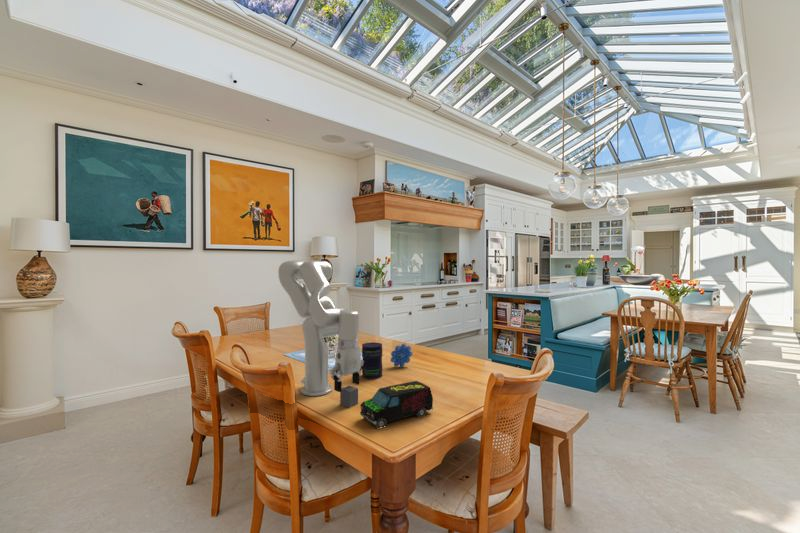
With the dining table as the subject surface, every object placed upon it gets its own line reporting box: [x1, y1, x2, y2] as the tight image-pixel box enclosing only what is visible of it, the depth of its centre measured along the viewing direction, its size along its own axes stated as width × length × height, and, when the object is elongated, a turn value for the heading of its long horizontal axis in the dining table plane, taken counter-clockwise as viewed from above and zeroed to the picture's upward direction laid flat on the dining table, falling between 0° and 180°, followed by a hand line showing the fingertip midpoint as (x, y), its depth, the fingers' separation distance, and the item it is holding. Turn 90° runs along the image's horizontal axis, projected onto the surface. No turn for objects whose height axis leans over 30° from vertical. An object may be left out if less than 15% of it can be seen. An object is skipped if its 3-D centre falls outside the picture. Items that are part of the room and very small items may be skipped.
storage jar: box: [361, 341, 384, 380], centre depth 170 cm, size 10×10×15 cm
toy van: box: [359, 380, 434, 429], centre depth 125 cm, size 11×25×10 cm, turn 122°
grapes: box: [390, 343, 413, 367], centre depth 186 cm, size 12×7×12 cm, turn 100°
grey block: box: [339, 385, 359, 408], centre depth 135 cm, size 5×4×6 cm
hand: (347, 387), depth 136 cm, fingers open, 9 cm apart
